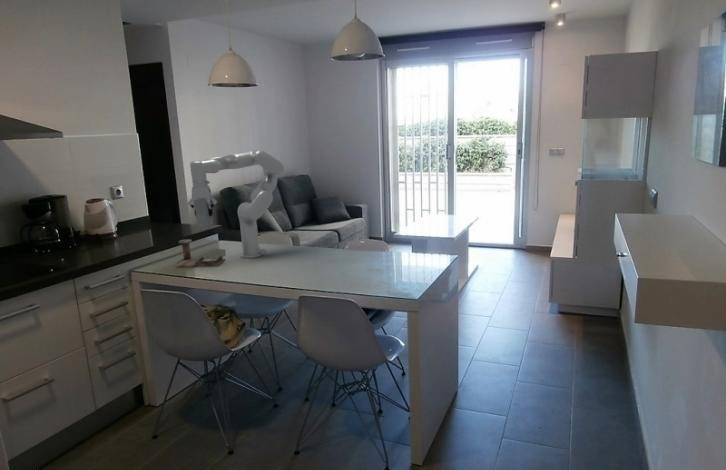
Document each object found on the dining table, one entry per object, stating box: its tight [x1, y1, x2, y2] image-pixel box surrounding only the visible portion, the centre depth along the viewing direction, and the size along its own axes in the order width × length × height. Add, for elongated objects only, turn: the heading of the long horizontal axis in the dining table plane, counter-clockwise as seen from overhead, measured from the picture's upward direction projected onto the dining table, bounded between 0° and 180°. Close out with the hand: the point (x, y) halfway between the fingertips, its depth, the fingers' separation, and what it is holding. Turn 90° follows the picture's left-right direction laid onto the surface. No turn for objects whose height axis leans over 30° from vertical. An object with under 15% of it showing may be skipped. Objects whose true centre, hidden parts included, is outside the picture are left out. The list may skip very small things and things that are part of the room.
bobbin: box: [178, 238, 195, 262], centre depth 287 cm, size 7×7×12 cm
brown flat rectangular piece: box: [175, 255, 226, 269], centre depth 278 cm, size 24×12×3 cm, turn 88°
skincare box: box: [193, 198, 214, 228], centre depth 272 cm, size 8×7×16 cm
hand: (204, 215), depth 273 cm, fingers closed on skincare box, 6 cm apart
